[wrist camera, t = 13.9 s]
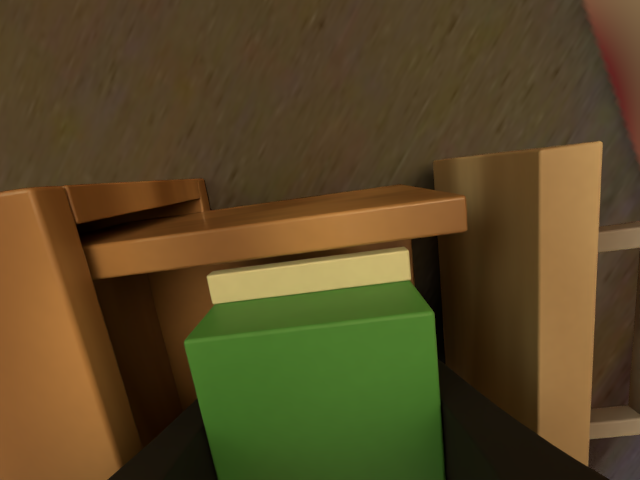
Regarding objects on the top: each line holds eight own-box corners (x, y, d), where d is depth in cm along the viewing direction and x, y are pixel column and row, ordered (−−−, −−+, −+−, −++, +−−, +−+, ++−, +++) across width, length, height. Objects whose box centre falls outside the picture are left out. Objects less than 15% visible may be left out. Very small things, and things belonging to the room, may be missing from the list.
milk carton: (413, 468, 10) (455, 615, 7) (277, 481, 11) (254, 630, 7) (390, 232, 9) (433, 273, 5) (231, 253, 9) (171, 304, 6)
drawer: (590, 138, 12) (870, 103, 6) (580, 400, 14) (772, 572, 8) (126, 203, 13) (-58, 233, 7) (189, 439, 15) (94, 623, 9)
